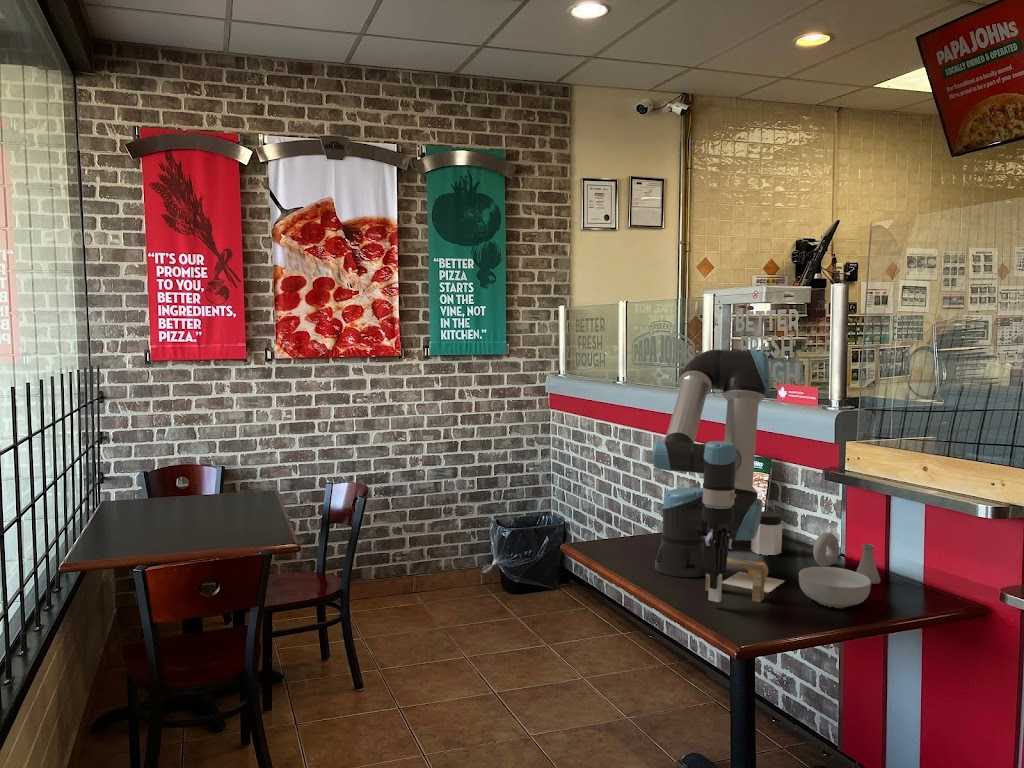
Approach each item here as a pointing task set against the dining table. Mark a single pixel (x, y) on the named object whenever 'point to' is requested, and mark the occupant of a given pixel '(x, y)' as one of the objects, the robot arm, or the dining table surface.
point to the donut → (820, 548)
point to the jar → (768, 535)
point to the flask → (868, 564)
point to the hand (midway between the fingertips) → (714, 600)
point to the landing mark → (751, 581)
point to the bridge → (757, 576)
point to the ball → (750, 571)
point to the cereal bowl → (834, 586)
